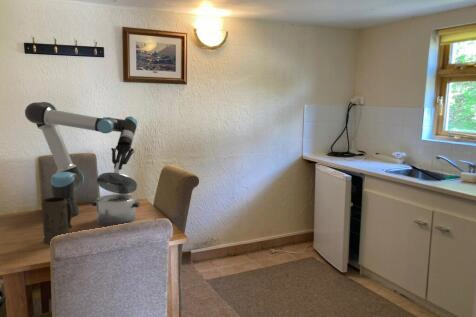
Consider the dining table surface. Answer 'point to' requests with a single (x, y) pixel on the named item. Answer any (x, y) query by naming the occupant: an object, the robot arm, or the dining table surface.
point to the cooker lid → (117, 183)
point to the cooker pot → (115, 209)
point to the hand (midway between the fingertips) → (115, 174)
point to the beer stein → (56, 217)
